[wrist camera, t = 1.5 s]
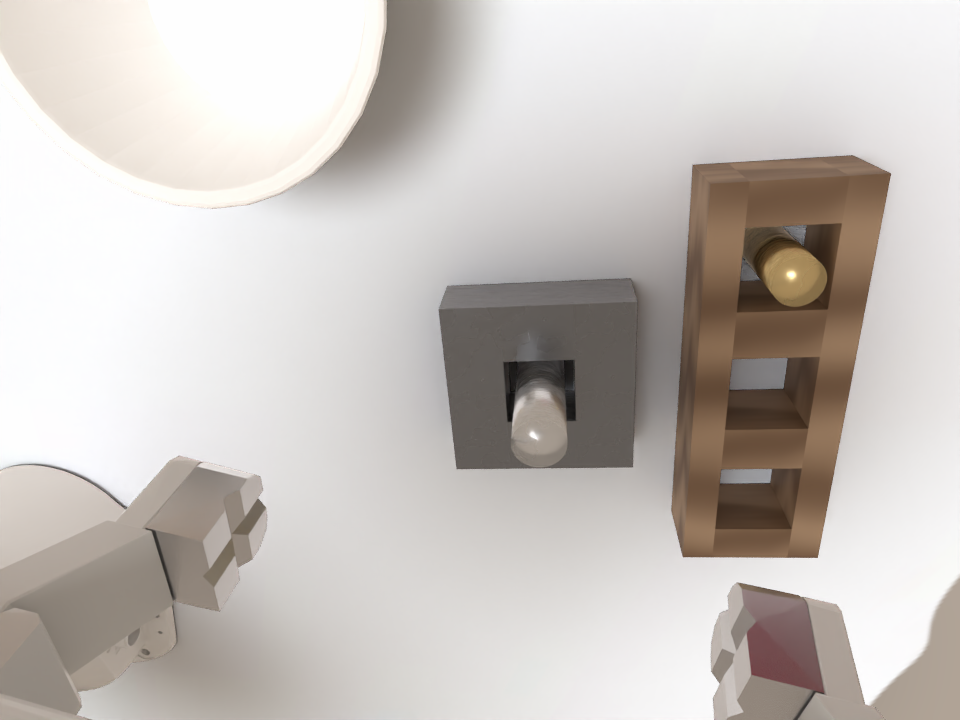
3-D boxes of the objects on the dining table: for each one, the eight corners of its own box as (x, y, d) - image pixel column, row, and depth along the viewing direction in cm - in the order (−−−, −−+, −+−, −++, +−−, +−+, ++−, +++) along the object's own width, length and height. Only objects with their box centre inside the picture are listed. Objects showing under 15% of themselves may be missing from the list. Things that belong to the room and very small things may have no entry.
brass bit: (783, 262, 43) (822, 305, 36) (736, 264, 43) (768, 307, 37) (788, 219, 41) (830, 255, 35) (740, 221, 42) (774, 258, 36)
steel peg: (564, 382, 48) (568, 467, 39) (519, 383, 48) (512, 467, 39) (563, 341, 47) (566, 419, 38) (516, 343, 47) (509, 420, 38)
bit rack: (794, 510, 51) (817, 557, 47) (671, 510, 52) (682, 557, 48) (852, 155, 39) (890, 173, 35) (692, 164, 40) (710, 183, 36)
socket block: (626, 434, 49) (632, 467, 46) (463, 437, 51) (456, 469, 47) (630, 278, 44) (637, 301, 40) (447, 285, 45) (438, 309, 42)
